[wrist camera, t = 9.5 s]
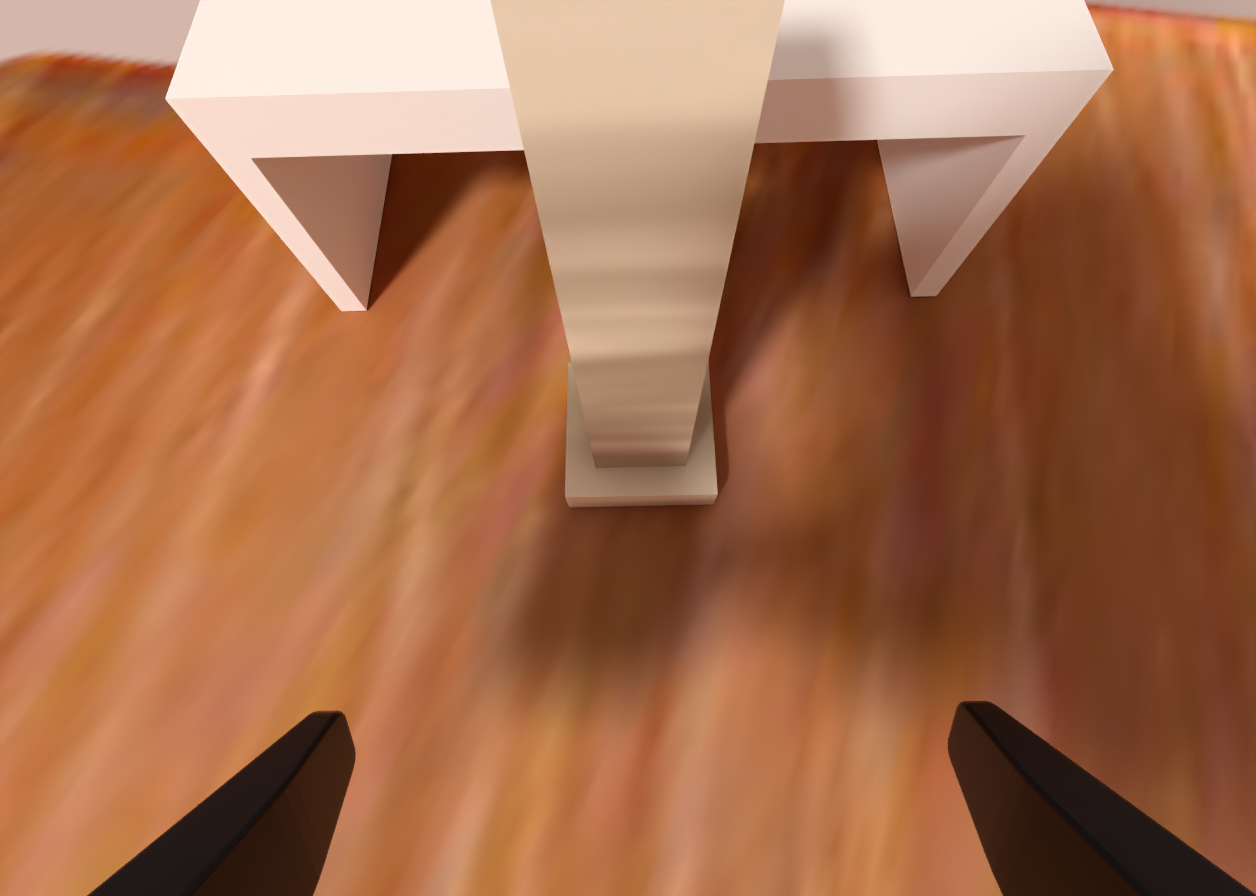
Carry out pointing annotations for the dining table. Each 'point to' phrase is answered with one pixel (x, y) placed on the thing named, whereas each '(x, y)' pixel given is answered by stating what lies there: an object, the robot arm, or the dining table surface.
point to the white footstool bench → (486, 121)
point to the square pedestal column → (638, 217)
